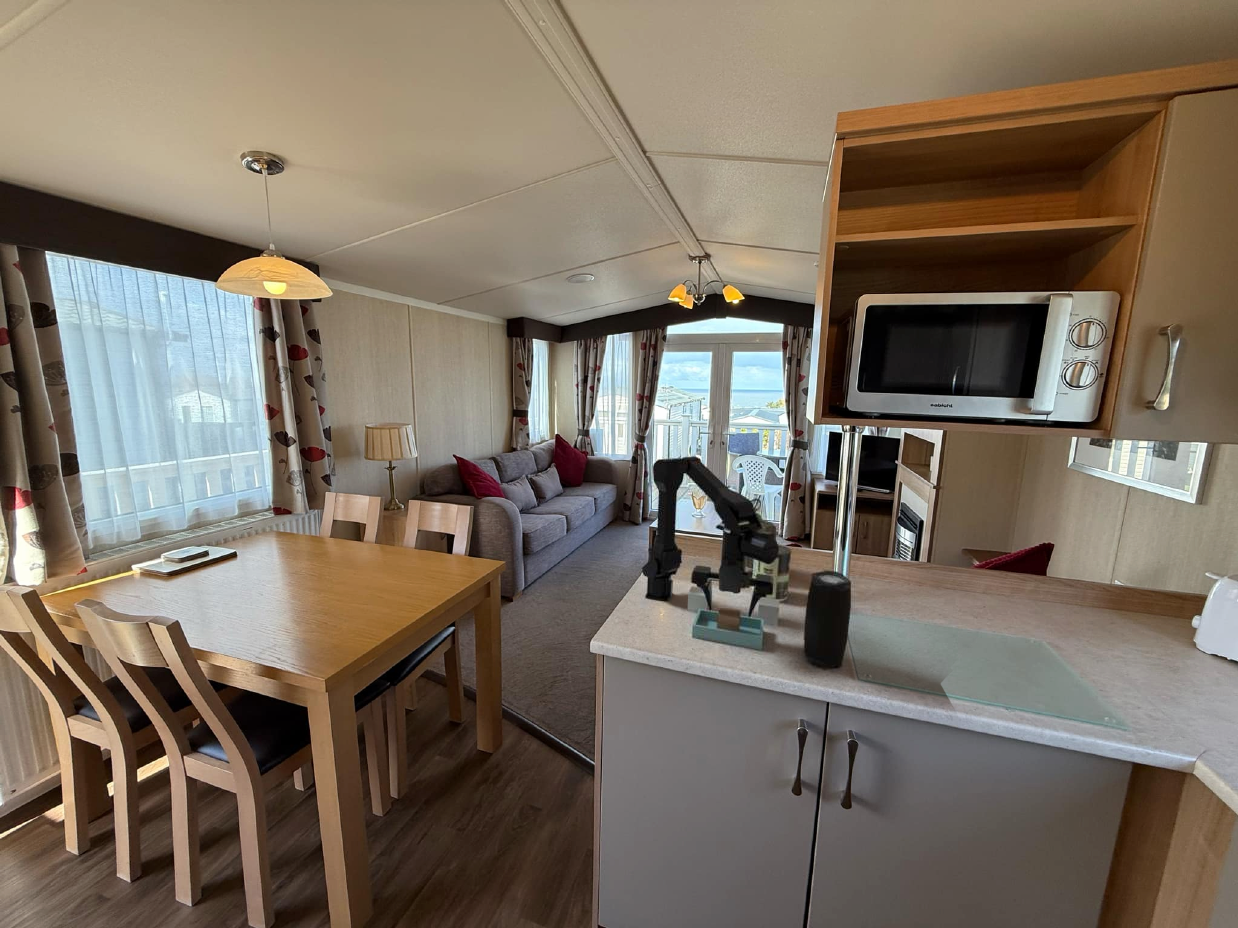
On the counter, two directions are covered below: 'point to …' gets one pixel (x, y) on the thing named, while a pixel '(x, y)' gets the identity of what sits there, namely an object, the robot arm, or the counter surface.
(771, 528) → the tabletop clock
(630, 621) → the counter surface
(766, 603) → the grey block right
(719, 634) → the tray
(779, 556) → the coffee can
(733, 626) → the walnut block
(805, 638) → the portable speaker
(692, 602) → the grey block left
